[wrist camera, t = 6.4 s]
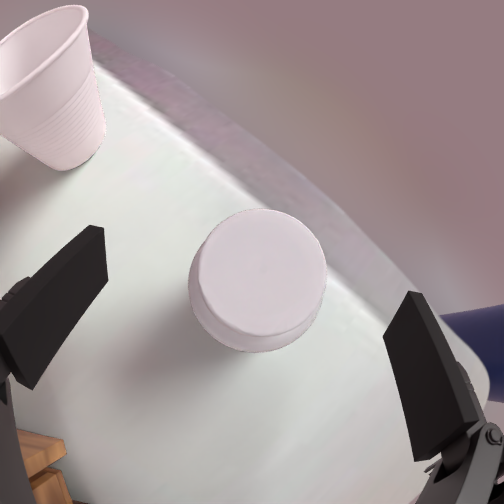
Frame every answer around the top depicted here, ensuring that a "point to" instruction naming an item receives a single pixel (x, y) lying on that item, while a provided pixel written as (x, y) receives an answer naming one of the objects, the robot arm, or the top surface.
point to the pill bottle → (258, 280)
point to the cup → (51, 89)
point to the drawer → (44, 467)
